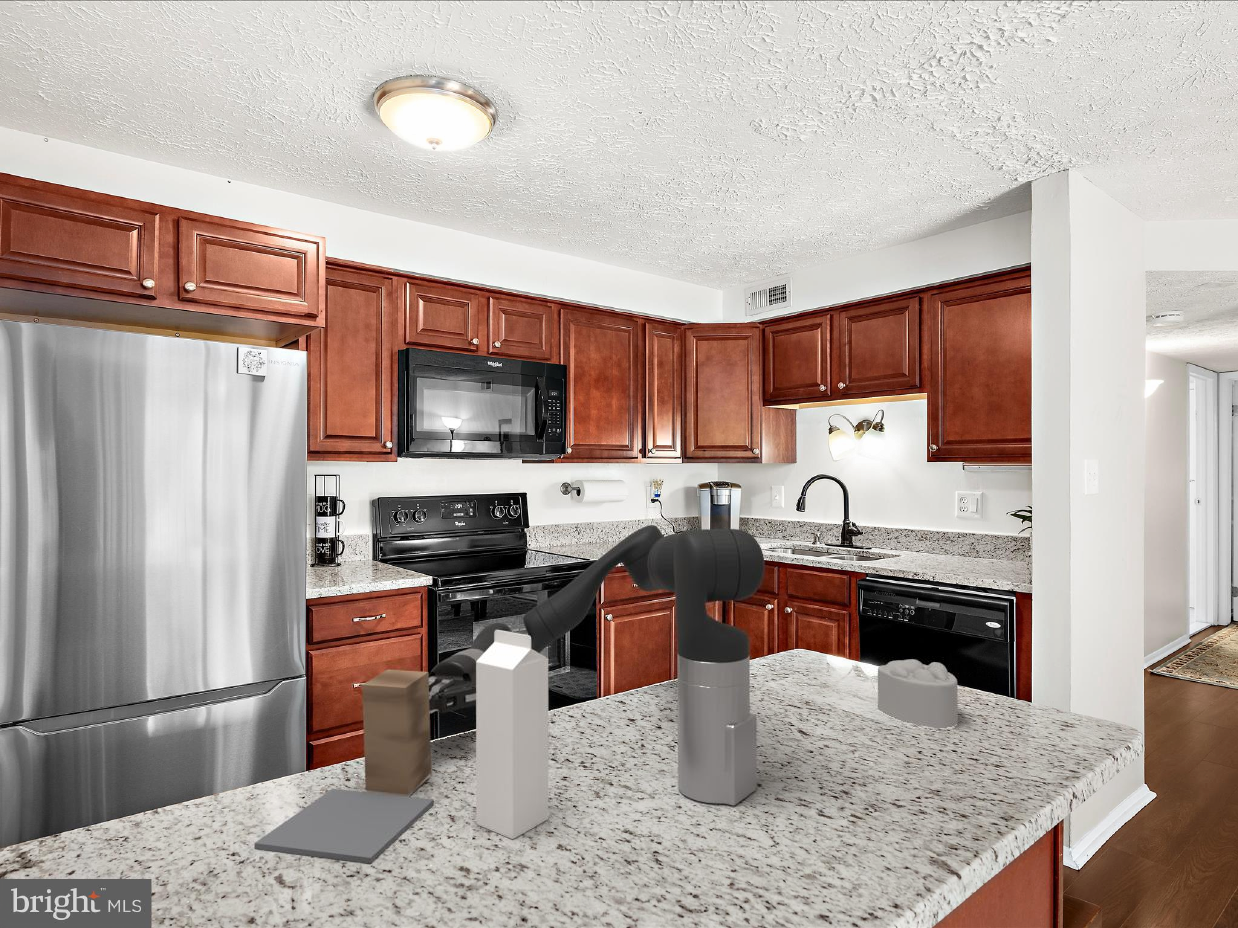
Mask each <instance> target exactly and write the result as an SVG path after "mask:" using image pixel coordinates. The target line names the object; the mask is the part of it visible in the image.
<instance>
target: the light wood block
mask: <svg viewBox="0 0 1238 928" xmlns="http://www.w3.org/2000/svg"><path fill="white" fill-rule="evenodd" d="M361 685H362V686H361V689H362V691H361V692H362V714H363V715H362V716H363V718H362V720H363V721H362V722H363V750H364V777H365V791H366V792H369V793H379V794H388V795H398V796H407V797H411V795H413V793H414V792H416V790H418V788H420V787H421V786H422V785H423V784H424V783H425V782H426V780H428V779H429V778H430V777H431V774H432V755H431V754H432V752H431V751H432V749H431V747H432V745H431V720H430V719H431V717H430V714H431V713H430V710H429V672H428V671H418V670H417V671H416V670H402V669H399V670H398V669H385V670H384V671H383V672H381V673H379V674H378V675H376V676H374V677H373V678H371V679H369V680H368V681H366V682H364V683H363V684H361Z"/></svg>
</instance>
